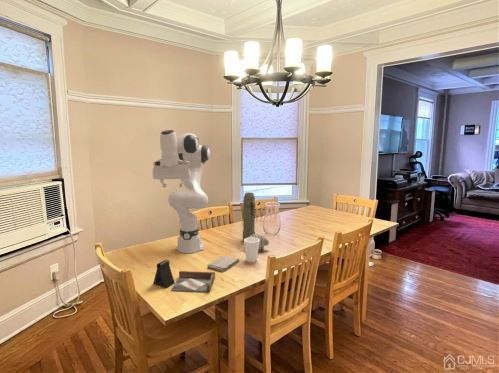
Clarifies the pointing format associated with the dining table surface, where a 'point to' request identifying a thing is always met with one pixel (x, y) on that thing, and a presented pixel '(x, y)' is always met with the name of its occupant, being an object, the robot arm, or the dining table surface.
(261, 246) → the toy sheep
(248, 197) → the green cactus
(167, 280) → the door stopper
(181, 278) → the tray
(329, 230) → the dining table surface
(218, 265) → the washcloth
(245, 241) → the foam cup
